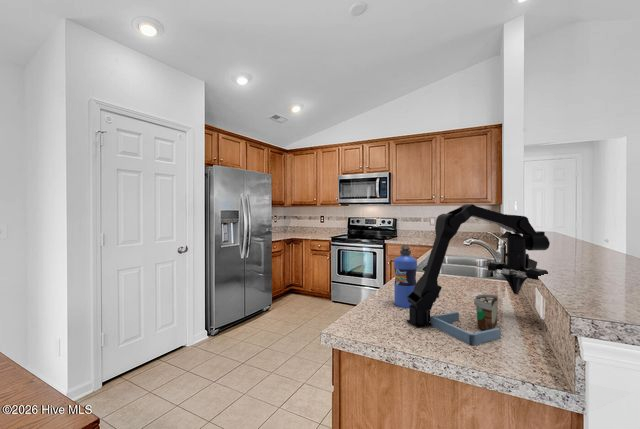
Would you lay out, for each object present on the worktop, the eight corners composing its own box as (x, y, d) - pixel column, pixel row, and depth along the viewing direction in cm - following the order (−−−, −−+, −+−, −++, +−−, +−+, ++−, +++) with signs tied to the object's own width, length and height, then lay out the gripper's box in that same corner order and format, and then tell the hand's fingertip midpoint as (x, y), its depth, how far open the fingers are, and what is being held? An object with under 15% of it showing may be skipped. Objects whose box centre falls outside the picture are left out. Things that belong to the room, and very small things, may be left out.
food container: (478, 319, 107) (478, 292, 107) (497, 323, 103) (497, 295, 103) (469, 330, 98) (469, 300, 98) (491, 335, 94) (491, 303, 94)
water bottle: (409, 309, 118) (408, 247, 118) (389, 304, 126) (389, 245, 125) (421, 304, 125) (421, 245, 124) (402, 299, 132) (402, 243, 131)
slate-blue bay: (472, 345, 87) (472, 335, 87) (430, 325, 103) (430, 316, 103) (500, 338, 91) (500, 328, 91) (456, 319, 107) (456, 311, 107)
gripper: (559, 252, 101) (559, 298, 101) (506, 246, 118) (506, 285, 118) (538, 254, 97) (537, 302, 97) (486, 248, 114) (486, 288, 114)
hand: (516, 294), depth 107 cm, fingers closed
